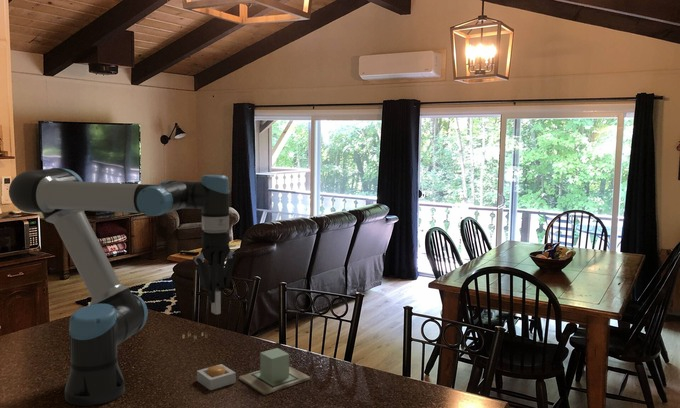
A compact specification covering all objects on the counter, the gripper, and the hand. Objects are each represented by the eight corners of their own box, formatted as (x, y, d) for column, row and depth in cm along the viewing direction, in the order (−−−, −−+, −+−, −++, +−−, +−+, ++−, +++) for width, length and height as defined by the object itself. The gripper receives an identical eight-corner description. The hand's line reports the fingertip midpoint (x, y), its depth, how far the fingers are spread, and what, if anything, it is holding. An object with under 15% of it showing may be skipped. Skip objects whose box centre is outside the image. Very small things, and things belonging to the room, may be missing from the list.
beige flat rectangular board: (264, 394, 157) (264, 391, 157) (239, 379, 167) (239, 376, 167) (309, 379, 168) (310, 376, 168) (283, 365, 177) (283, 362, 177)
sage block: (271, 382, 163) (272, 358, 162) (260, 375, 167) (260, 352, 167) (289, 377, 167) (289, 354, 166) (277, 370, 171) (277, 347, 170)
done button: (212, 384, 161) (212, 374, 161) (204, 378, 165) (204, 368, 165) (227, 379, 164) (227, 369, 164) (219, 374, 168) (219, 364, 168)
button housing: (210, 390, 159) (210, 380, 159) (196, 380, 165) (196, 370, 165) (235, 382, 164) (235, 372, 164) (221, 373, 170) (221, 363, 170)
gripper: (200, 234, 152) (201, 320, 155) (243, 230, 161) (242, 311, 164) (187, 230, 158) (188, 314, 161) (229, 226, 166) (229, 305, 169)
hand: (215, 312), depth 162 cm, fingers closed
